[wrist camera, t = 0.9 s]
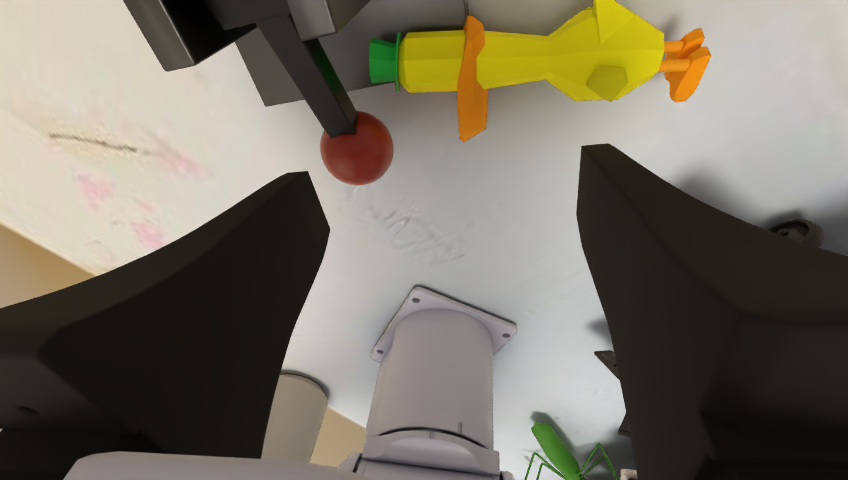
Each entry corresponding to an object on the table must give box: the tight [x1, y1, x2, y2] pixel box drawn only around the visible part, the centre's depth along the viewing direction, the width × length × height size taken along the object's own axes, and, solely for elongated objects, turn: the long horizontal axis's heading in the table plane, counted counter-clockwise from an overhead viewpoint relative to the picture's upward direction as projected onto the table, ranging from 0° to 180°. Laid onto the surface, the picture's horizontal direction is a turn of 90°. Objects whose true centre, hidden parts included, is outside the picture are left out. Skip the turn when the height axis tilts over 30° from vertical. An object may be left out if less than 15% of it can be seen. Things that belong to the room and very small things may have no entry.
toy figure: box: [369, 0, 711, 142], centre depth 16 cm, size 7×4×12 cm
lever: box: [202, 0, 393, 185], centre depth 14 cm, size 11×3×3 cm, turn 12°
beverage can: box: [261, 374, 328, 463], centre depth 34 cm, size 6×6×12 cm
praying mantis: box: [525, 422, 621, 480], centre depth 39 cm, size 9×15×4 cm, turn 33°
